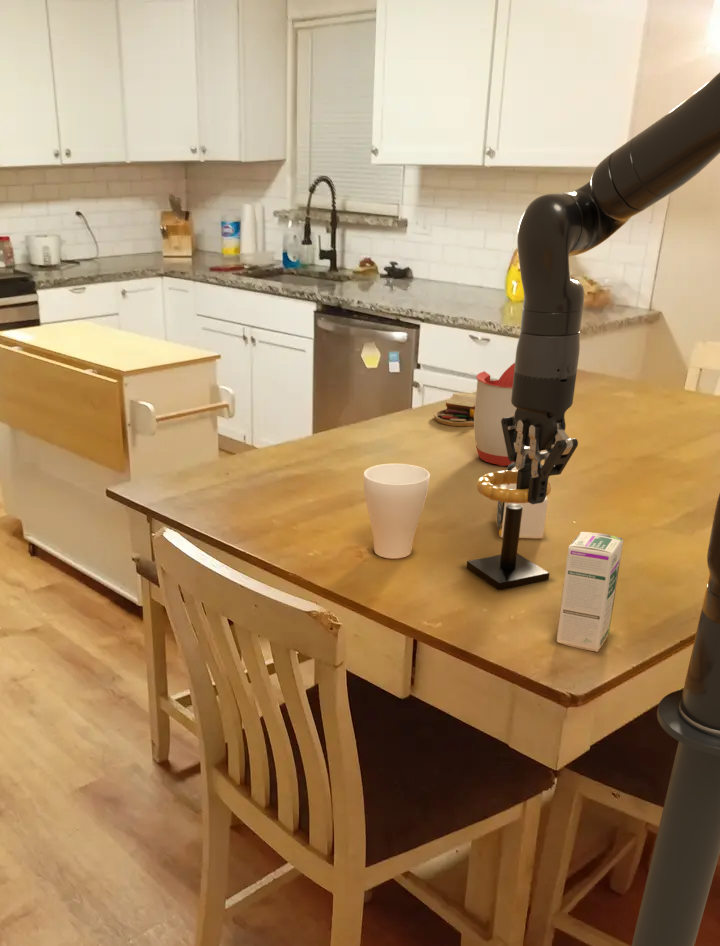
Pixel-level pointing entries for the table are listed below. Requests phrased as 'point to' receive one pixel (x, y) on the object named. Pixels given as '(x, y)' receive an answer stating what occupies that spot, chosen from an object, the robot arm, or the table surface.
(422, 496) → the cup
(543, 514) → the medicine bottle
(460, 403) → the toy sandwich meal
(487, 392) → the citrus juicer
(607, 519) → the table surface
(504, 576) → the holder
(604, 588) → the syrup box
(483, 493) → the ring
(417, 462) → the table surface
